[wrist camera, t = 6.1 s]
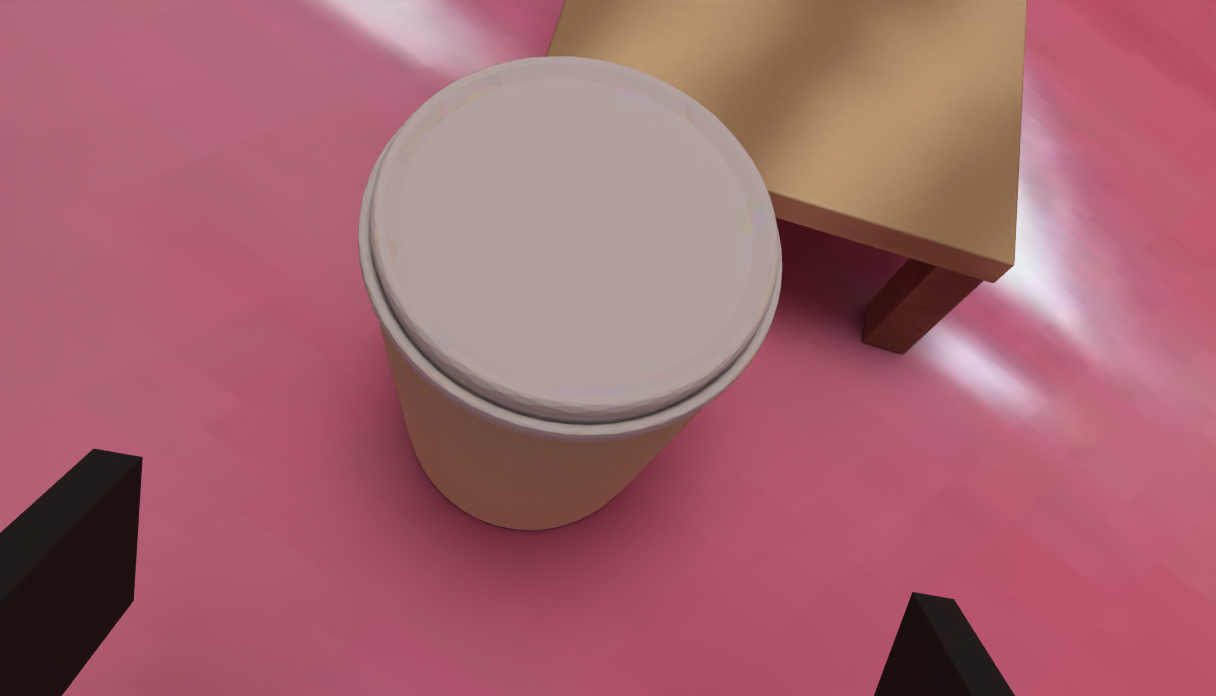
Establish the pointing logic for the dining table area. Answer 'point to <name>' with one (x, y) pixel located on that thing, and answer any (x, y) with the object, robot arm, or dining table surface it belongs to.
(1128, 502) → the dining table surface
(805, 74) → the wooden chair
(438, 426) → the coffee cup
